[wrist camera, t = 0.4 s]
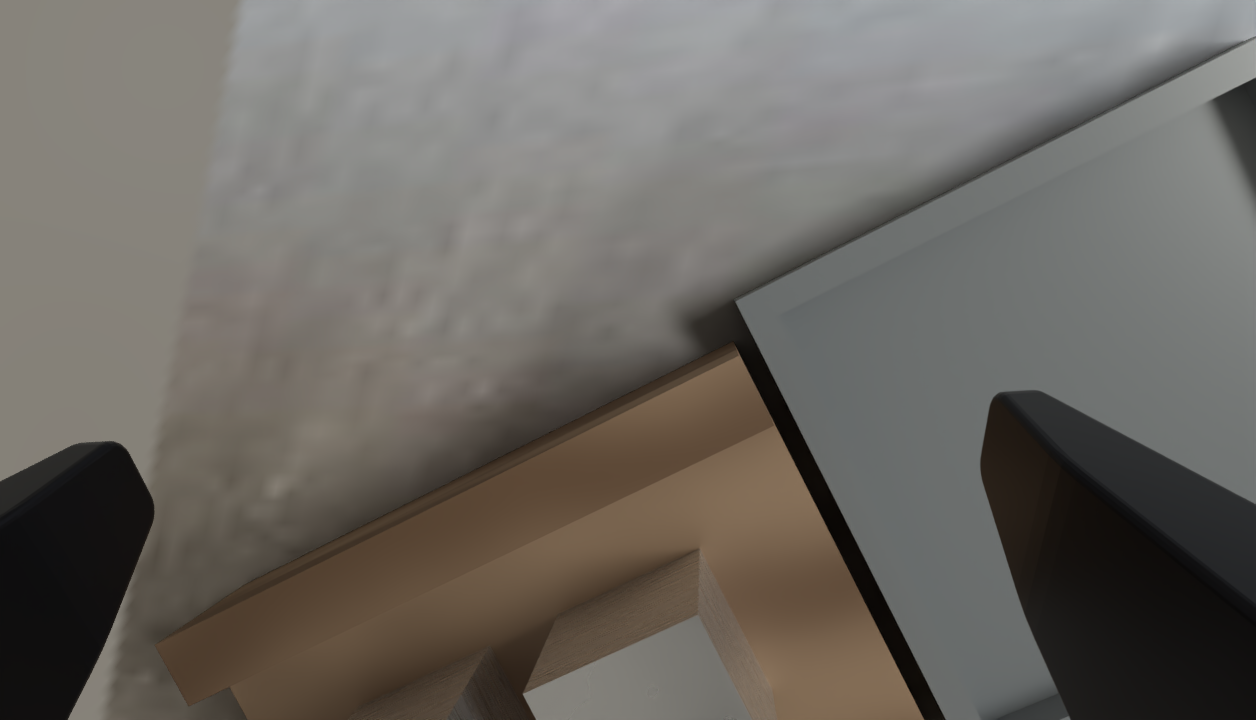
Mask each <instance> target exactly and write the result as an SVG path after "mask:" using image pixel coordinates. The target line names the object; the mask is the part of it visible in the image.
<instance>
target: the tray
mask: <svg viewBox="0 0 1256 720" xmlns="http://www.w3.org/2000/svg"><path fill="white" fill-rule="evenodd" d="M734 302H735V304H736V306H737V308H738V310H739V312H740V314H741V316H742V318H743V320H744V322H745V324H746V326H747V328H748V330H749V332H750V334H751V336H752V337H753V339H754V341H755V343H756V345H757V347H758V349H759V351H760V353H761V355H762V357H763V359H764V361H765V363H766V365H767V367H768V369H769V371H770V373H771V375H772V377H773V379H774V381H775V383H776V385H777V387H778V389H779V391H780V393H781V395H782V397H783V399H784V401H785V403H786V405H787V407H788V409H789V411H790V413H791V415H792V417H793V419H794V421H795V423H796V425H797V427H798V429H799V431H800V433H801V435H802V437H803V439H804V441H805V443H806V445H807V447H808V449H809V451H810V453H811V455H812V457H813V459H814V461H815V463H816V465H817V467H818V469H819V471H820V473H821V475H822V477H823V479H824V481H825V482H826V484H827V486H828V488H829V490H830V492H831V494H832V496H833V498H834V500H835V502H836V504H837V506H838V508H839V510H840V512H841V514H842V516H843V518H844V520H845V522H846V524H847V526H848V528H849V530H850V532H851V534H852V536H853V538H854V540H855V542H856V544H857V546H858V548H859V550H860V552H861V554H862V556H863V558H864V560H865V562H866V564H867V566H868V568H869V570H870V572H871V574H872V576H873V578H874V580H875V582H876V584H877V586H878V588H879V590H880V592H881V594H882V596H883V598H884V600H885V602H886V604H887V606H888V608H889V610H890V612H891V614H892V616H893V618H894V620H895V622H896V624H897V625H898V627H899V629H900V631H901V633H902V635H903V637H904V639H905V641H906V643H907V645H908V647H909V649H910V651H911V653H912V655H913V657H914V659H915V661H916V663H917V665H918V667H919V669H920V671H921V673H922V675H923V677H924V679H925V681H926V683H927V685H928V687H929V689H930V691H931V693H932V695H933V697H934V699H935V701H936V703H937V705H938V707H939V709H940V711H941V713H942V715H943V717H944V719H945V720H1070V717H1069V715H1068V713H1067V711H1066V709H1065V706H1064V704H1063V702H1062V700H1061V697H1060V695H1059V693H1058V691H1057V688H1056V686H1055V684H1054V682H1053V679H1052V677H1051V675H1050V673H1049V671H1048V668H1047V666H1046V664H1045V662H1044V659H1043V657H1042V655H1041V653H1040V650H1039V648H1038V646H1037V644H1036V642H1035V639H1034V637H1033V635H1032V632H1031V630H1030V627H1029V625H1028V622H1027V620H1026V618H1025V615H1024V612H1023V609H1022V606H1021V604H1020V601H1019V598H1018V595H1017V592H1016V589H1015V585H1014V582H1013V579H1012V576H1011V572H1010V569H1009V566H1008V563H1007V560H1006V556H1005V553H1004V550H1003V547H1002V544H1001V540H1000V537H999V534H998V531H997V527H996V524H995V521H994V518H993V515H992V511H991V508H990V505H989V502H988V499H987V495H986V492H985V489H984V486H983V482H982V478H981V472H980V457H981V451H982V445H983V440H984V434H985V428H986V423H987V417H988V412H989V407H990V403H991V401H992V399H993V397H994V396H995V395H996V394H998V393H999V392H1006V391H1023V390H1039V391H1042V392H1044V393H1046V394H1048V395H1050V396H1052V397H1054V398H1056V399H1058V400H1059V401H1061V402H1063V403H1065V404H1067V405H1069V406H1071V407H1073V408H1075V409H1077V410H1078V411H1080V412H1082V413H1084V414H1086V415H1088V416H1090V417H1092V418H1094V419H1095V420H1097V421H1099V422H1101V423H1103V424H1105V425H1107V426H1109V427H1111V428H1113V429H1114V430H1116V431H1118V432H1120V433H1122V434H1124V435H1126V436H1128V437H1130V438H1131V439H1133V440H1135V441H1137V442H1139V443H1141V444H1143V445H1145V446H1147V447H1149V448H1150V449H1152V450H1154V451H1156V452H1158V453H1160V454H1162V455H1164V456H1166V457H1167V458H1169V459H1171V460H1173V461H1175V462H1177V463H1179V464H1181V465H1183V466H1185V467H1186V468H1188V469H1190V470H1192V471H1194V472H1196V473H1198V474H1200V475H1202V476H1203V477H1205V478H1207V479H1209V480H1211V481H1213V482H1215V483H1217V484H1219V485H1221V486H1222V487H1224V488H1226V489H1228V490H1230V491H1232V492H1234V493H1236V494H1238V495H1239V496H1241V497H1243V498H1245V499H1247V500H1249V501H1251V502H1253V503H1255V504H1256V36H1255V37H1253V38H1250V39H1248V40H1246V41H1244V42H1242V43H1240V44H1238V45H1236V46H1234V47H1232V48H1230V49H1228V50H1226V51H1224V52H1222V53H1220V54H1218V55H1216V56H1214V57H1212V58H1210V59H1208V60H1206V61H1204V62H1203V63H1201V64H1199V65H1197V66H1195V67H1193V68H1191V69H1189V70H1187V71H1185V72H1183V73H1181V74H1179V75H1177V76H1175V77H1173V78H1171V79H1169V80H1167V81H1165V82H1163V83H1161V84H1159V85H1157V86H1155V87H1153V88H1151V89H1149V90H1147V91H1145V92H1143V93H1141V94H1139V95H1137V96H1135V97H1133V98H1131V99H1129V100H1127V101H1125V102H1123V103H1121V104H1119V105H1117V106H1115V107H1114V108H1112V109H1110V110H1108V111H1106V112H1104V113H1102V114H1100V115H1098V116H1096V117H1094V118H1092V119H1090V120H1088V121H1086V122H1084V123H1082V124H1080V125H1078V126H1076V127H1074V128H1072V129H1070V130H1068V131H1066V132H1064V133H1062V134H1060V135H1058V136H1056V137H1054V138H1052V139H1050V140H1048V141H1046V142H1044V143H1042V144H1040V145H1038V146H1036V147H1034V148H1032V149H1030V150H1028V151H1026V152H1025V153H1023V154H1021V155H1019V156H1017V157H1015V158H1013V159H1011V160H1009V161H1007V162H1005V163H1003V164H1001V165H999V166H997V167H995V168H993V169H991V170H989V171H987V172H985V173H983V174H981V175H979V176H977V177H975V178H973V179H971V180H969V181H967V182H965V183H963V184H961V185H959V186H957V187H955V188H953V189H951V190H949V191H947V192H945V193H943V194H941V195H939V196H938V197H936V198H934V199H932V200H930V201H928V202H926V203H924V204H922V205H920V206H918V207H916V208H914V209H912V210H910V211H908V212H906V213H904V214H902V215H900V216H898V217H896V218H894V219H892V220H890V221H888V222H886V223H884V224H882V225H880V226H878V227H876V228H874V229H872V230H870V231H868V232H866V233H864V234H862V235H860V236H858V237H856V238H854V239H852V240H850V241H849V242H847V243H845V244H843V245H841V246H839V247H837V248H835V249H833V250H831V251H829V252H827V253H825V254H823V255H821V256H819V257H817V258H815V259H813V260H811V261H809V262H807V263H805V264H803V265H801V266H799V267H797V268H795V269H793V270H791V271H789V272H787V273H785V274H783V275H781V276H779V277H777V278H775V279H773V280H771V281H769V282H767V283H765V284H763V285H761V286H760V287H758V288H756V289H754V290H752V291H750V292H748V293H746V294H744V295H742V296H740V297H738V298H736V299H734Z"/></svg>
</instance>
